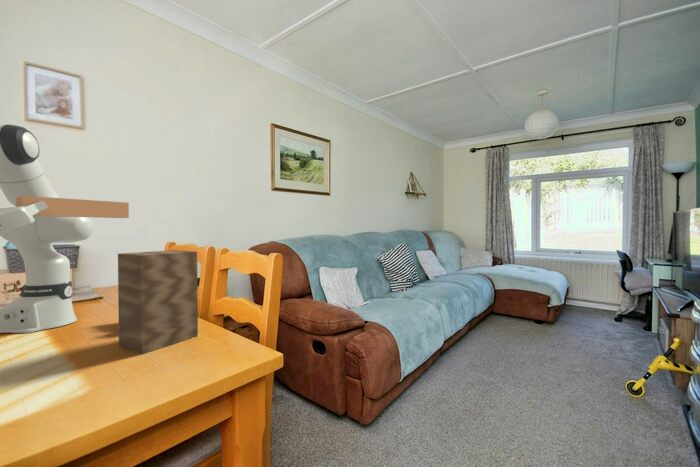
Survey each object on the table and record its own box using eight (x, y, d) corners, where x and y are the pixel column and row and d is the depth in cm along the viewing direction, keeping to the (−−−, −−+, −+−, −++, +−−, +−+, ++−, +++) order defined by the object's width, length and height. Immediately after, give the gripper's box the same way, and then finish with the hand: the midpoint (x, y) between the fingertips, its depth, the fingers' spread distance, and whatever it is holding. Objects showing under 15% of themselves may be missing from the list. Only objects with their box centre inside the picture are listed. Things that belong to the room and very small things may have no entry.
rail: (22, 214, 66) (22, 195, 66) (16, 215, 68) (16, 196, 68) (128, 217, 83) (128, 202, 83) (121, 218, 85) (120, 203, 85)
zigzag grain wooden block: (142, 354, 83) (140, 255, 82) (118, 345, 89) (117, 253, 88) (197, 336, 97) (197, 251, 96) (174, 329, 103) (173, 250, 102)
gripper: (-46, 222, 53) (48, 188, 63) (-71, 222, 63) (14, 193, 73) (-17, 253, 56) (69, 216, 66) (-45, 249, 66) (33, 217, 76)
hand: (40, 204), depth 70 cm, fingers closed on rail, 4 cm apart
